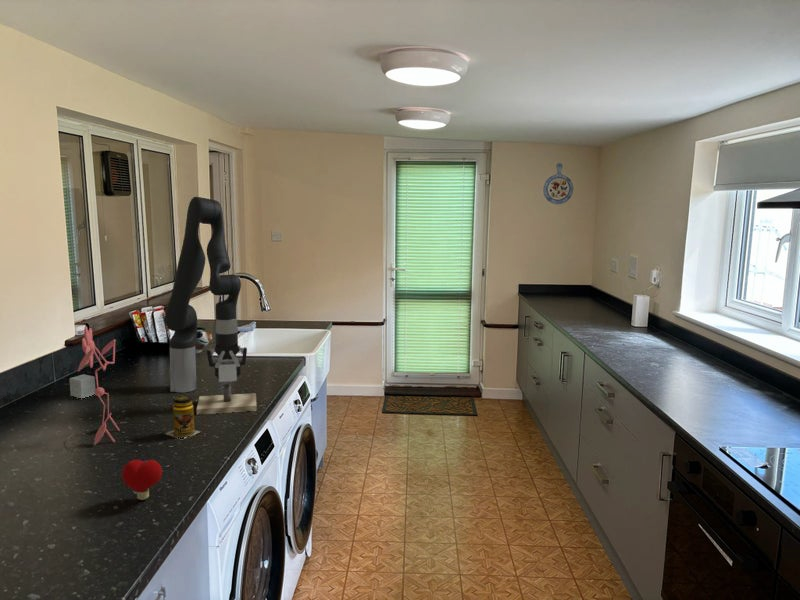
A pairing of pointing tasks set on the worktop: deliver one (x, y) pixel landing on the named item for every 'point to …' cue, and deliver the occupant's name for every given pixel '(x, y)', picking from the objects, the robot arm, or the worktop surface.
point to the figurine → (89, 350)
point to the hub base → (226, 402)
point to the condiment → (183, 417)
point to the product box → (82, 386)
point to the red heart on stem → (141, 476)
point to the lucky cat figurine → (202, 340)
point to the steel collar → (227, 371)
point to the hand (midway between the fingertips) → (227, 376)
